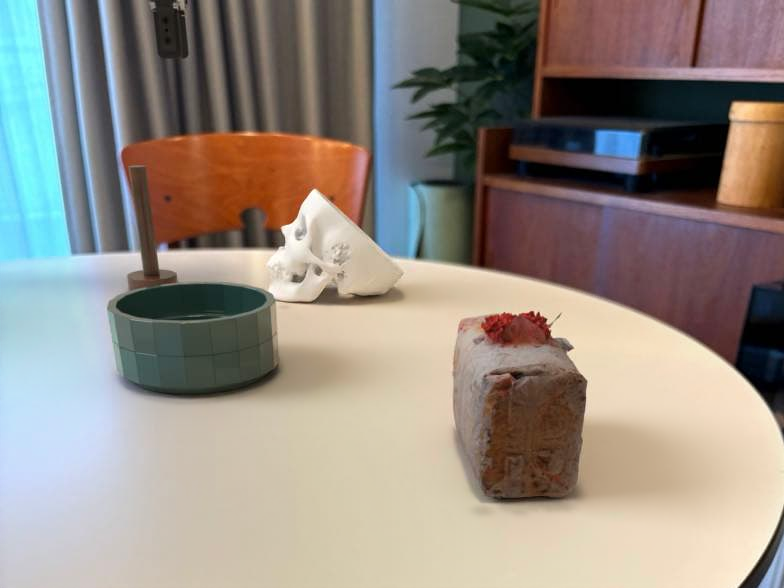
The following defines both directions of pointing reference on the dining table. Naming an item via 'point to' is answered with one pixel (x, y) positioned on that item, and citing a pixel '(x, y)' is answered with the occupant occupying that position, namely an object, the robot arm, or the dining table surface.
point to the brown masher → (146, 236)
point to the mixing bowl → (194, 336)
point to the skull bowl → (328, 256)
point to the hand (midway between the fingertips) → (174, 58)
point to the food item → (518, 405)
